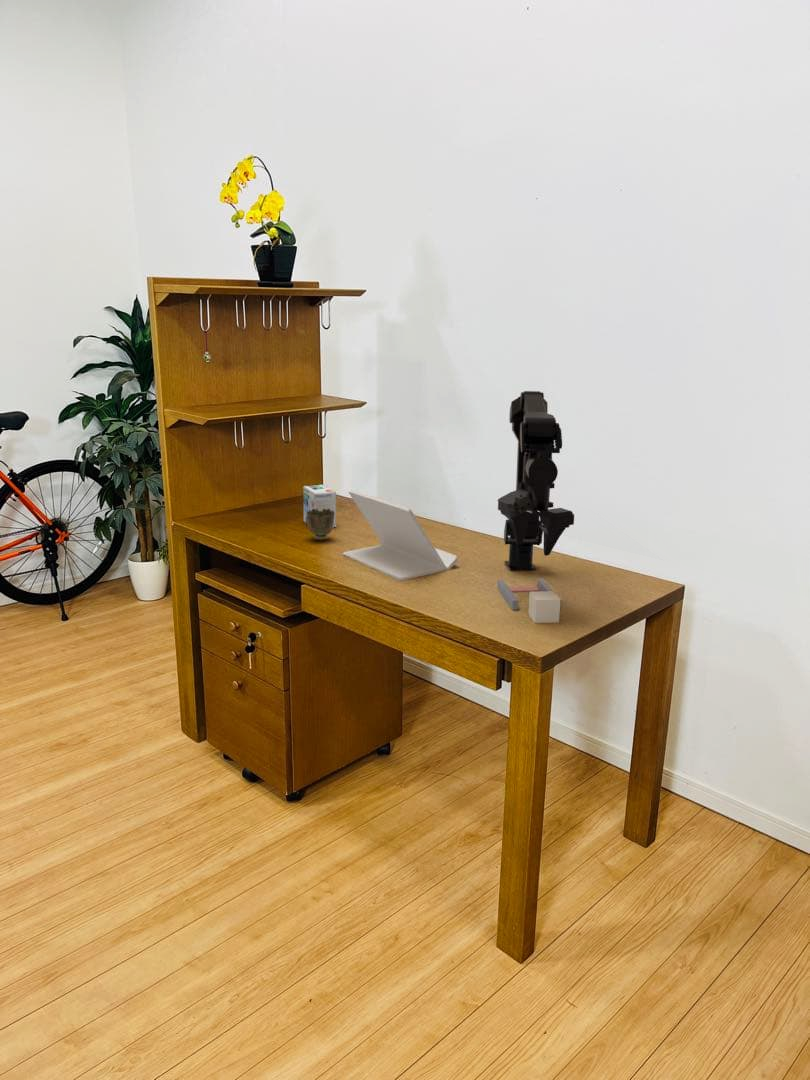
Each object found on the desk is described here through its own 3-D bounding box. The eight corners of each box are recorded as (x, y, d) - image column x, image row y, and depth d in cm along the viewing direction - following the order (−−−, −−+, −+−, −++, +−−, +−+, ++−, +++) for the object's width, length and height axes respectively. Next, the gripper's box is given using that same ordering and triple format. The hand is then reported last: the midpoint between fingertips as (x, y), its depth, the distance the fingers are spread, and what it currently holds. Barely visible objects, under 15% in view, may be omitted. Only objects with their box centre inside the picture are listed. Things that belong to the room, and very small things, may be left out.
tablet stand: (400, 581, 190) (401, 510, 185) (341, 555, 209) (340, 490, 204) (459, 568, 200) (461, 500, 196) (398, 544, 219) (398, 482, 215)
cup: (335, 536, 226) (335, 507, 223) (334, 543, 219) (333, 514, 216) (308, 536, 225) (307, 507, 223) (306, 543, 218) (305, 514, 216)
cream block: (528, 614, 170) (529, 591, 169) (551, 613, 171) (553, 591, 169) (534, 623, 165) (536, 600, 164) (558, 622, 166) (560, 599, 164)
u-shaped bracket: (497, 588, 185) (497, 579, 185) (542, 586, 187) (542, 578, 186) (512, 609, 172) (512, 601, 172) (560, 608, 173) (561, 599, 173)
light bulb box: (302, 521, 241) (302, 485, 238) (324, 519, 243) (324, 484, 240) (314, 530, 231) (314, 493, 228) (337, 528, 234) (336, 491, 231)
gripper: (479, 473, 174) (476, 544, 178) (534, 488, 159) (530, 566, 163) (520, 469, 180) (517, 538, 184) (578, 484, 164) (573, 559, 168)
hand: (532, 550), depth 174 cm, fingers open, 9 cm apart
